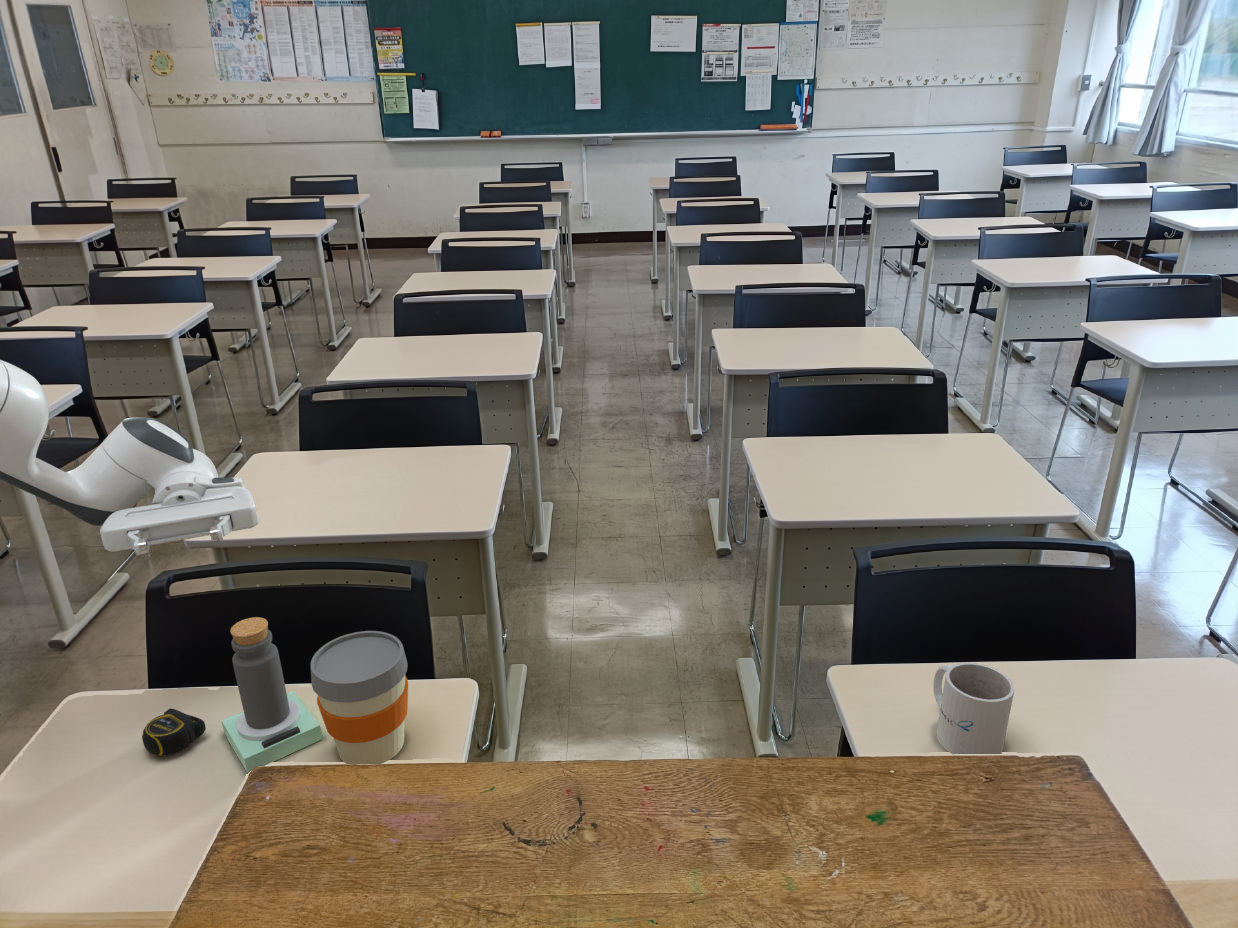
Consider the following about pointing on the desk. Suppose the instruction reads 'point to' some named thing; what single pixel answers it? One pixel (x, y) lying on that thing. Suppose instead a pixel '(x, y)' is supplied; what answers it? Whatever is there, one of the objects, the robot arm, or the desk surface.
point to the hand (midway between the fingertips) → (179, 543)
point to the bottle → (259, 674)
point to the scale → (272, 735)
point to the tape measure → (171, 732)
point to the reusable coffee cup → (363, 695)
